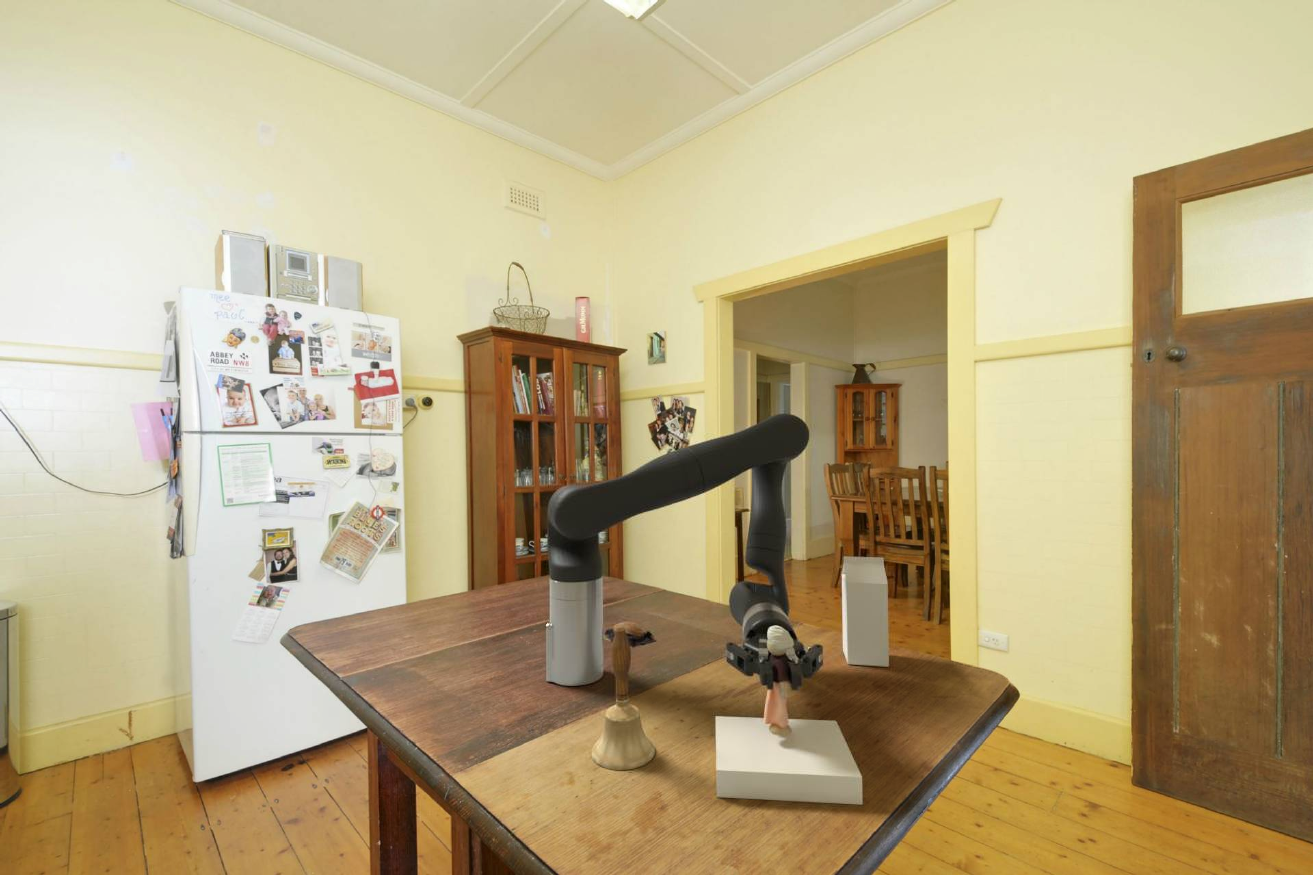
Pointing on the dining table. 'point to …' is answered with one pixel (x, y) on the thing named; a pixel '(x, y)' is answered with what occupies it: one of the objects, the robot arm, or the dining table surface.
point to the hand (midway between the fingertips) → (782, 682)
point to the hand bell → (622, 719)
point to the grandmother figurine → (778, 681)
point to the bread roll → (631, 634)
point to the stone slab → (785, 762)
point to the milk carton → (865, 611)
